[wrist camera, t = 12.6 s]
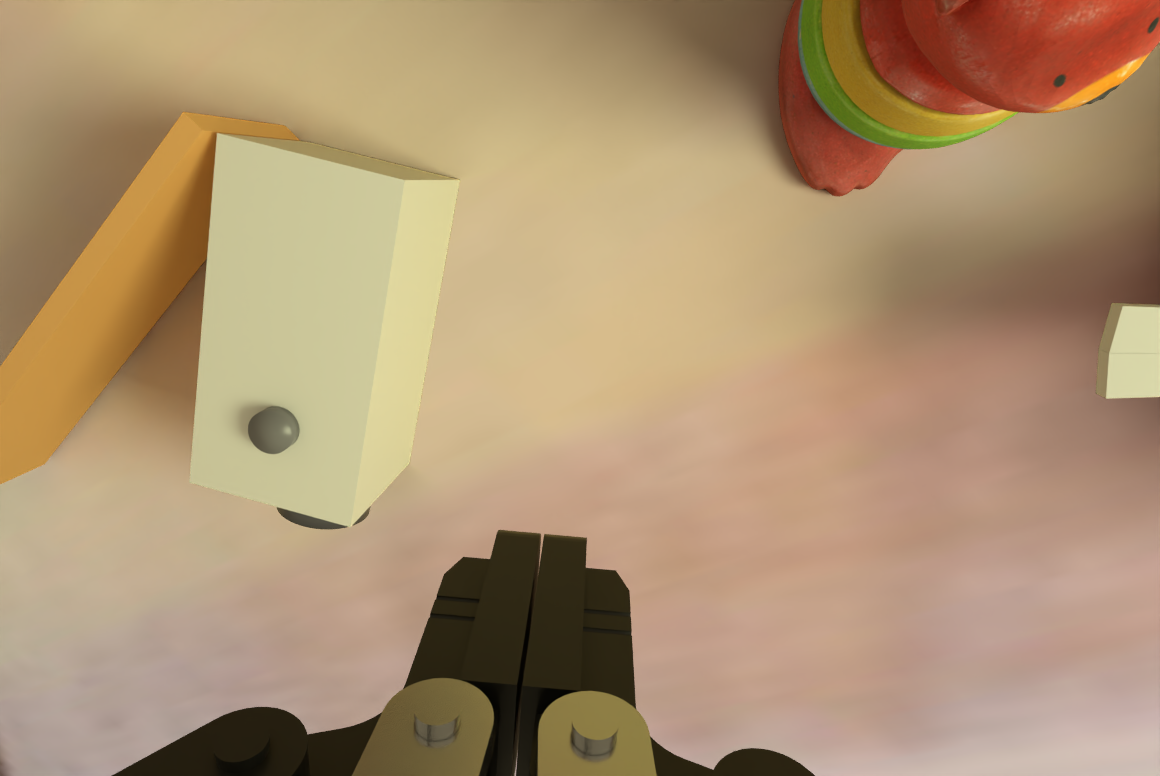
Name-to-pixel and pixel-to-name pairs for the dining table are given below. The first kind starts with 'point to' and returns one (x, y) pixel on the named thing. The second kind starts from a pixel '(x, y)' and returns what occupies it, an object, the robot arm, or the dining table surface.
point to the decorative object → (1130, 352)
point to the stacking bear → (941, 73)
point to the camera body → (315, 324)
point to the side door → (114, 291)
